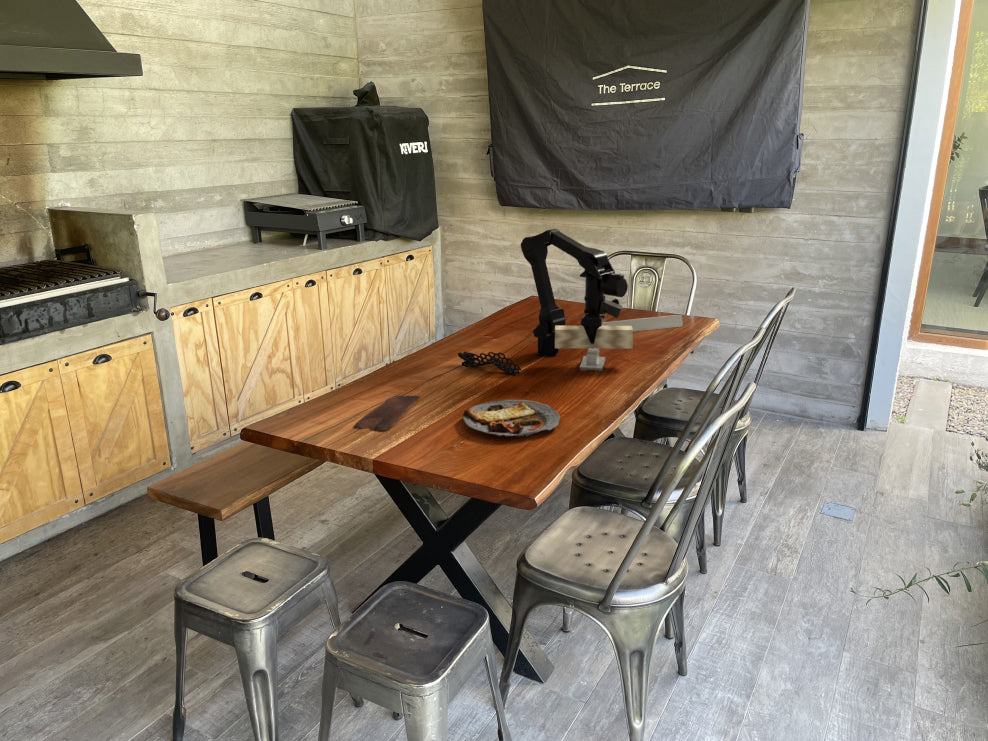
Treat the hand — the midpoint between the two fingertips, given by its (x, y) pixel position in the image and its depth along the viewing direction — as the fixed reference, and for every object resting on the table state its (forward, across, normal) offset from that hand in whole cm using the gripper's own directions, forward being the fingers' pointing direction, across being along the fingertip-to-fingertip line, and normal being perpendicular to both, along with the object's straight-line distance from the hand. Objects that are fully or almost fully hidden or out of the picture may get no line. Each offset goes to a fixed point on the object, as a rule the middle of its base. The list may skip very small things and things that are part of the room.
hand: (593, 341), depth 236 cm
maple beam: (+2, 0, 0) cm, 2 cm away
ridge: (+8, 0, 0) cm, 8 cm away
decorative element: (+8, -10, +32) cm, 34 cm away
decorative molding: (+9, +48, -11) cm, 50 cm away
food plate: (+8, -52, +16) cm, 55 cm away
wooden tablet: (+9, -50, +49) cm, 71 cm away
